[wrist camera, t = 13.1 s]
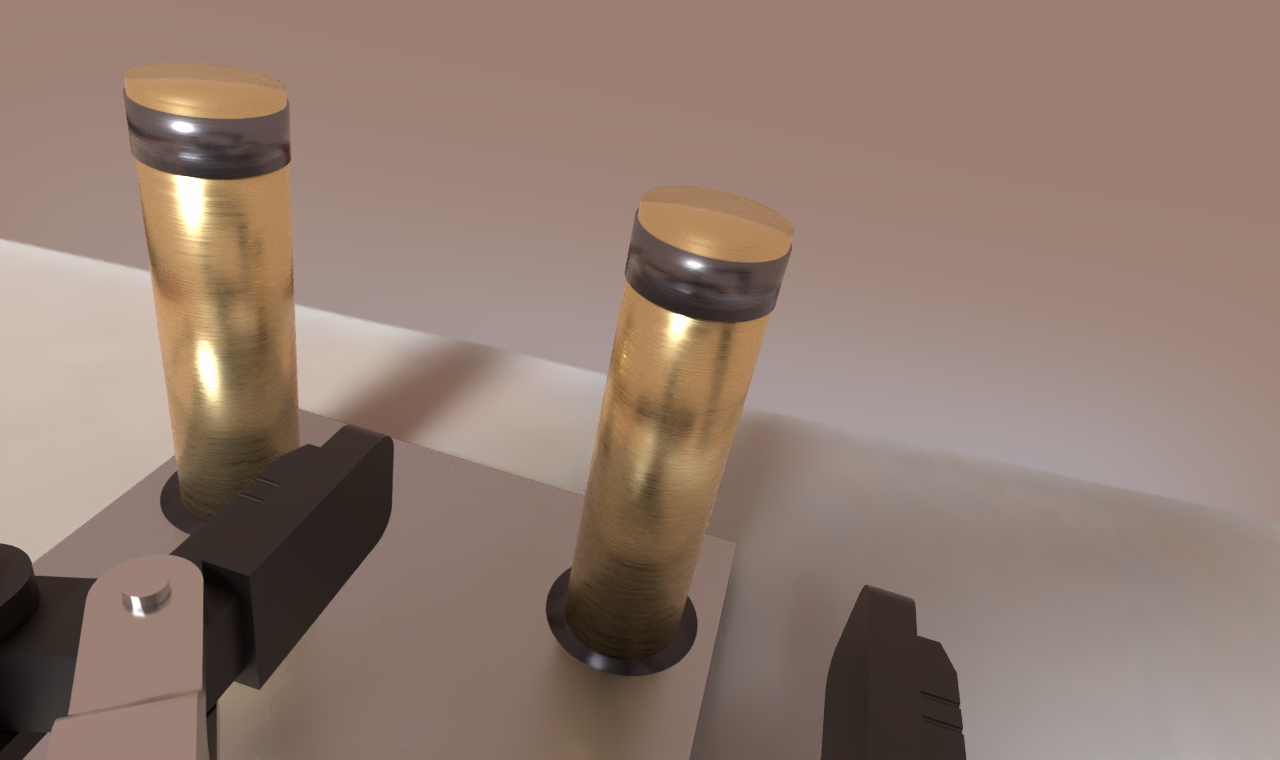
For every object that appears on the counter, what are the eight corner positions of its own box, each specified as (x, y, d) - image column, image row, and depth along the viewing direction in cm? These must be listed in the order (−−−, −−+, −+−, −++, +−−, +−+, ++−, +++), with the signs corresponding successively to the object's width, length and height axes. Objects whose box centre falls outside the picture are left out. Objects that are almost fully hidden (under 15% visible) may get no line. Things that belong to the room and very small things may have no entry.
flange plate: (727, 572, 25) (736, 543, 25) (580, 1229, 13) (592, 1202, 12) (255, 425, 27) (253, 394, 27) (-288, 868, 14) (-317, 828, 14)
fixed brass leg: (325, 474, 24) (318, 86, 18) (258, 542, 21) (225, 114, 16) (229, 444, 24) (193, 55, 19) (151, 507, 22) (82, 76, 16)
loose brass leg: (690, 590, 23) (802, 210, 17) (666, 678, 20) (788, 263, 14) (583, 557, 23) (658, 174, 17) (545, 638, 20) (619, 218, 15)
